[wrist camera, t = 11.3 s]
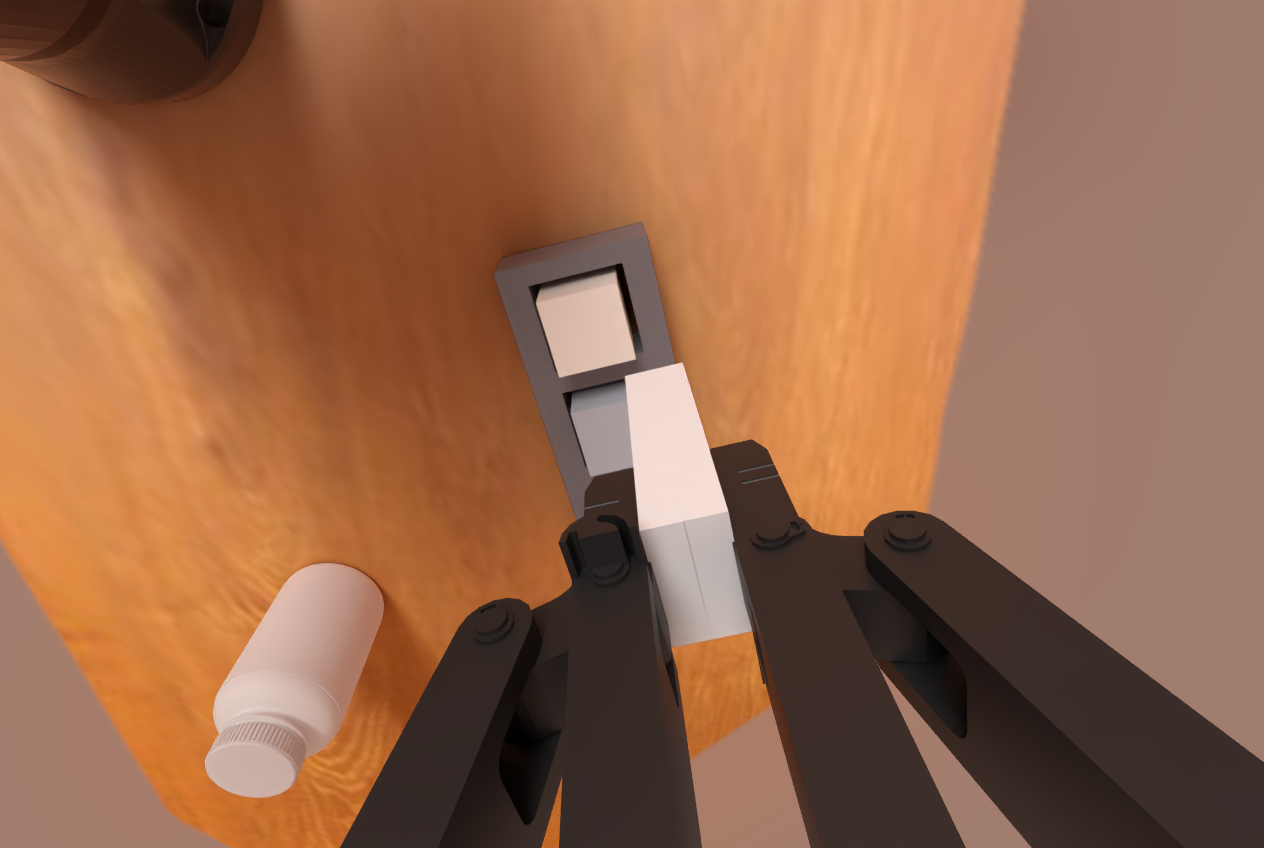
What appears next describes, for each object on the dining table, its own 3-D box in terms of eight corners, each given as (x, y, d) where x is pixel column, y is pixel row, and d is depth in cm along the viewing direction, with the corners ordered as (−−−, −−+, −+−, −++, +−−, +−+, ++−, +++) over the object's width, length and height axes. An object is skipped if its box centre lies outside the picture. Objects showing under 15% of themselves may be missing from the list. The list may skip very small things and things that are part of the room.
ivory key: (563, 350, 42) (559, 377, 38) (542, 281, 40) (535, 303, 36) (632, 333, 42) (636, 359, 38) (614, 263, 40) (616, 283, 36)
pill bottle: (369, 647, 55) (296, 825, 42) (272, 615, 53) (163, 791, 40) (402, 581, 52) (335, 750, 39) (301, 544, 50) (194, 709, 37)
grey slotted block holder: (592, 534, 51) (592, 567, 47) (502, 257, 41) (492, 273, 38) (706, 508, 50) (714, 540, 47) (642, 221, 40) (646, 234, 37)
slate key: (591, 442, 46) (590, 476, 42) (573, 383, 43) (570, 413, 39) (655, 427, 45) (661, 460, 41) (640, 367, 43) (645, 395, 39)
